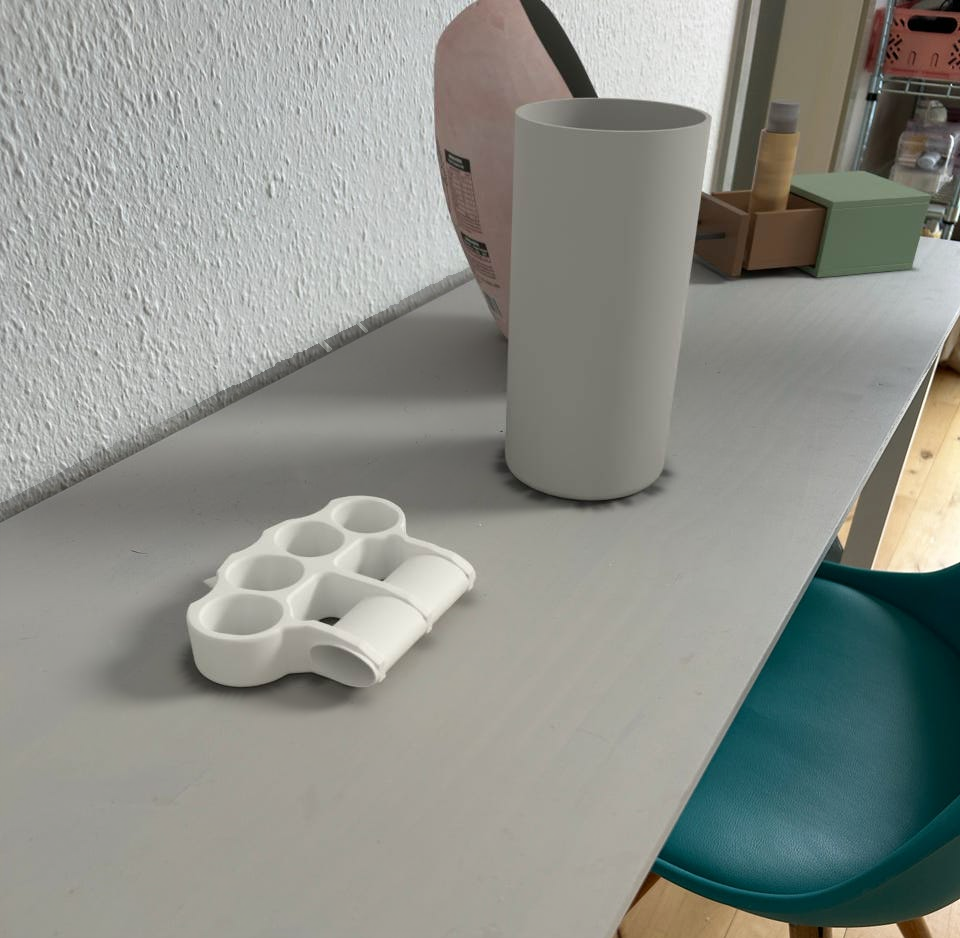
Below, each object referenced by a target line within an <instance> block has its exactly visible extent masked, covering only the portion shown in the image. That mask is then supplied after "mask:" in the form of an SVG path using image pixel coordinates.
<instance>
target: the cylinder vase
mask: <svg viewBox="0 0 960 938" xmlns="http://www.w3.org/2000/svg"><path fill="white" fill-rule="evenodd" d="M712 118H713V117H712V115H711V114H710V113H708V112H707V111H704V110H702V109H699V108H696V107H693V106H688V105H683V104H677V103H673V102H666V101H657V100H648V99H637V98H619V97H598V98H570V99H556V100H546V101H540V102H534V103H530V104H526V105H523V106H521V107H519V108H517V109H516V111H515V140H514V173H513V206H512V239H511V272H510V305H509V338H508V339H507V340H508V341H507V342H508V344H507V372H506V373H507V374H506V375H507V376H506V408H505V409H506V410H505V415H506V416H505V436H504V437H505V441H504V443H505V444H504V458H505V462H506V465H507V468H508V469H509V471H510V472H511V473H512V475H514V477H515V478H516V479H518V480H519V481H520V482H522V483H523V484H525V485H526V486H527V487H529V488H532V489H533V490H536V491H537V492H541V493H543V494H547V495H550V496H553V497H558V498H561V499H562V498H563V499H570V500H577V501H579V500H580V501H606V500H613V499H620V498H624V497H628V496H631V495H634V494H636V493H639V492H641V491H643V490H645V489H647V488H648V487H650V486H651V485H652V484H654V482H656V481H657V480H658V479H659V478H660V476H661V474H662V472H663V469H664V467H665V461H666V455H667V454H666V453H667V447H668V440H669V432H670V425H671V416H672V410H673V404H674V395H675V390H676V389H675V388H676V382H677V373H678V367H679V359H680V352H681V345H682V337H683V332H684V331H683V329H684V323H685V316H686V308H687V301H688V293H689V286H690V280H691V273H692V266H693V265H692V264H693V257H694V253H693V251H694V244H695V236H696V229H697V222H698V215H699V207H700V200H701V193H702V191H703V187H704V186H703V184H704V179H705V178H704V177H705V170H706V162H707V156H708V150H709V149H708V148H709V143H710V142H709V141H710V133H711V128H712V127H711V126H712Z"/></svg>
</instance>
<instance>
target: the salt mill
mask: <svg viewBox="0 0 960 938" xmlns="http://www.w3.org/2000/svg"><path fill="white" fill-rule="evenodd" d="M801 108H802V102H801V101H799V100H794V99H781V98H780V99H772V100H771V101H770V103H769V110H768V116H767V121H766V127H765V128H762V129H761V130H760V136H759V142H758V149H757V155H756V160H755V166H754V172H753V178H752V179H753V180H752V184H751V189H750V190H751V196H750V202H749V208H748V214H750V220H749V226H748V232H747V238H746V244H745V249H746V250H748V245H749V239H750V233H751V227H752V221H753V215H754V212H768V211H782V210H786V206H787V201H788V196H789V190H790V185H791V180H792V175H794V170H795V169H794V168H795V163H796V158H797V153H798V149H799V143H800V137H801V131H800V130H798V124H799V118H800V113H801Z"/></svg>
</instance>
